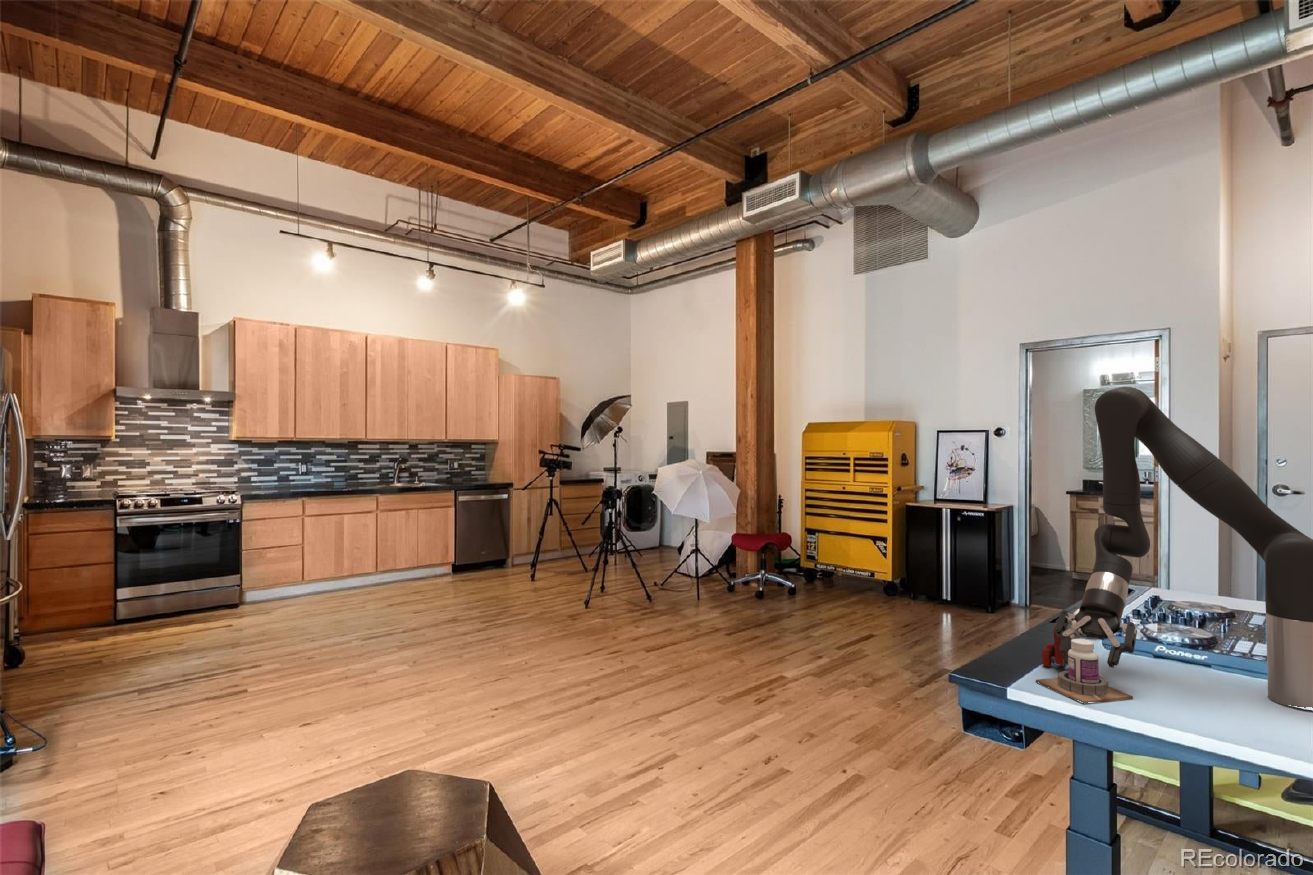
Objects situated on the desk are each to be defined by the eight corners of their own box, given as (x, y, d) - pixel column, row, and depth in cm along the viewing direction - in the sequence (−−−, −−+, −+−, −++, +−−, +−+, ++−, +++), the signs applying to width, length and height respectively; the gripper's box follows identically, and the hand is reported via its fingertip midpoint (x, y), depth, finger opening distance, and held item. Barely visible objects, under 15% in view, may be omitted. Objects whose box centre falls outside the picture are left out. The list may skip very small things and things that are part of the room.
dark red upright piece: (1082, 661, 149) (1082, 618, 149) (1076, 676, 140) (1075, 629, 140) (1049, 655, 154) (1048, 613, 154) (1040, 669, 144) (1039, 624, 144)
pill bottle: (1102, 687, 132) (1101, 641, 132) (1095, 694, 128) (1094, 647, 128) (1072, 680, 136) (1071, 635, 136) (1065, 686, 132) (1064, 641, 132)
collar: (1081, 677, 139) (1081, 666, 139) (1133, 699, 127) (1133, 686, 127) (1035, 682, 136) (1035, 670, 136) (1084, 704, 124) (1083, 691, 124)
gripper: (1063, 582, 143) (1044, 641, 136) (1139, 593, 132) (1122, 658, 125) (1073, 601, 147) (1054, 661, 139) (1148, 613, 135) (1131, 679, 128)
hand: (1086, 659), depth 132 cm, fingers open, 8 cm apart
